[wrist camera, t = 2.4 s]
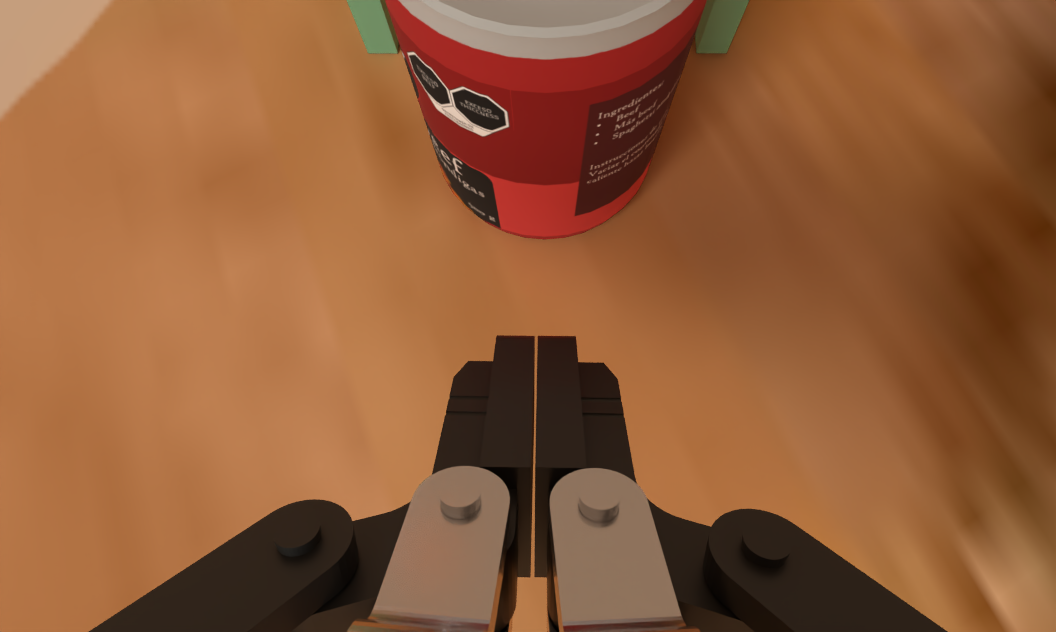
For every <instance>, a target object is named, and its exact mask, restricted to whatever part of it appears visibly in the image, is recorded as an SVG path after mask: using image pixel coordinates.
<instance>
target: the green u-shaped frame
mask: <svg viewBox="0 0 1056 632" xmlns="http://www.w3.org/2000/svg"><path fill="white" fill-rule="evenodd" d="M347 2H348V5H349V7H350V10H351V12H352V14H353V17H354V19H355V22H356V24H357V27H358V29H359V32H360V34H361V37H362V39H363V41H364V44H365V46H366V49H367V51H368V53H398V45H399V41H398V38H397V35H396V32H395V29H394V26H393V23H392V20H391V17H390V14H389V11H388V8H387V5H386V2H385V0H347ZM748 2H749V0H707V1H706V4H705V7H704V10H703V13H702V16H701V19H700V22H699V24H698V27H697V30H696V33H695V41H696V53H727V51H728V49H729V46H730V44H731V42H732V39H733V37H734V35H735V32H736V30H737V28H738V25H739V23H740V21H741V18H742V16H743V14H744V11H745V9H746V7H747V4H748Z"/></svg>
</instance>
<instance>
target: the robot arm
mask: <svg viewBox="0 0 1056 632" xmlns="http://www.w3.org/2000/svg"><path fill="white" fill-rule="evenodd" d="M534 354H535V337H534V336H497V337H496V344H495V351H494V359H493V361H468V362H467V363H466V364H465V365H464V367H463V368H462V369H461V370H460V371H459V372H458V373H457V374H456V375H455V376H454V378H453V383H452V387H451V392H450V399H449V401H448V405H447V410H446V415H445V419H444V423H443V428H442V432H441V437H440V441H439V446H438V450H437V455H436V459H435V464H434V468H433V473H432V475H431V476H429V477H428V478H427V479H425V480H424V481H423V482H422V483H421V484H420V485H419V487H418V488H417V489H416V491H415V493H414V495H413V497H412V500H411V502H409V503H408V504H406V505H404V506H402V507H400V508H398V509H396V510H393V511H391V512H387V513H384V514H380V515H376V516H372V517H368V518H364V519H360V520H356V521H352V519H351V517H350V515H349V514H348V512H347V511H346V510H345V509H344V508H342V507H341V506H339V505H338V504H335V503H333V502H330V501H325V500H315V499H314V500H304V501H298V502H295V503H291V504H288V505H286V506H283V507H281V508H279V509H277V510H275V511H274V512H272V513H270V514H269V515H267V516H266V517H264V518H263V519H261V520H260V521H258V522H256V523H255V524H253V525H252V526H250V527H249V528H247V529H246V530H244V531H243V532H241V533H240V534H238V535H236V536H235V537H233V538H232V539H230V540H229V541H227V542H226V543H224V544H223V545H221V546H220V547H218V548H217V549H215V550H213V551H212V552H210V553H209V554H207V555H206V556H204V557H203V558H201V559H200V560H198V561H197V562H195V563H193V564H192V565H190V566H189V567H187V568H186V569H184V570H183V571H181V572H180V573H178V574H177V575H175V576H174V577H172V578H170V579H169V580H167V581H166V582H164V583H163V584H161V585H160V586H158V587H157V588H155V589H154V590H152V591H150V592H149V593H147V594H146V595H144V596H143V597H141V598H140V599H138V600H137V601H135V602H134V603H132V604H131V605H129V606H127V607H126V608H124V609H123V610H121V611H120V612H118V613H117V614H115V615H114V616H112V617H111V618H109V619H108V620H106V621H104V622H103V623H101V624H100V625H98V626H97V627H95V628H94V629H92V630H91V631H89V632H512V616H513V614H514V611H515V607H516V596H517V577H530V572H531V530H532V488H533V446H534ZM535 577H547V632H947V631H946V630H944V629H943V628H942V627H940V626H939V625H937V624H936V623H934V622H933V621H932V620H930V619H929V618H927V617H926V616H924V615H923V614H922V613H920V612H919V611H917V610H916V609H914V608H913V607H912V606H910V605H909V604H907V603H906V602H905V601H903V600H902V599H900V598H899V597H897V596H896V595H895V594H893V593H892V592H890V591H889V590H887V589H886V588H885V587H883V586H882V585H880V584H879V583H877V582H876V581H875V580H873V579H872V578H870V577H869V576H867V575H866V574H865V573H863V572H862V571H860V570H859V569H857V568H856V567H855V566H853V565H852V564H850V563H849V562H848V561H846V560H845V559H843V558H842V557H840V556H839V555H838V554H836V553H835V552H833V551H832V550H830V549H829V548H828V547H826V546H825V545H823V544H822V543H820V542H819V541H818V540H816V539H815V538H813V537H812V536H810V535H809V534H808V533H806V532H805V531H803V530H802V529H801V528H799V527H798V526H796V525H795V524H793V523H792V522H790V521H788V520H787V519H785V518H783V517H780V516H778V515H776V514H773V513H770V512H767V511H762V510H756V509H739V510H734V511H731V512H728V513H725V514H724V515H722V516H720V517H719V518H718V519H717V520H716V521H715V522H714V524H713V525H712V527H710V526H706V525H703V524H699V523H696V522H692V521H688V520H685V519H682V518H679V517H676V516H673V515H671V514H669V513H667V512H665V511H663V510H661V509H660V508H658V507H657V506H655V505H654V504H653V503H652V502H650V501H649V500H648V499H647V498H646V495H645V494H644V492H643V491H642V489H641V488H640V487H639V486H638V485H637V483H636V479H635V475H634V469H633V464H632V458H631V452H630V447H629V441H628V435H627V430H626V424H625V418H624V413H623V407H622V402H621V396H620V390H619V384H618V379H617V378H616V377H615V376H614V374H613V373H612V372H611V371H610V370H609V369H608V367H607V366H606V365H605V364H604V363H585V362H578V357H577V345H576V337H575V336H538V357H537V410H536V464H535Z"/></svg>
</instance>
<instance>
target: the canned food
mask: <svg viewBox="0 0 1056 632" xmlns="http://www.w3.org/2000/svg"><path fill="white" fill-rule="evenodd" d="M706 1H707V0H385V2H386V5H387V8H388V11H389V14H390V17H391V20H392V23H393V26H394V29H395V32H396V35H397V38H398V41H399V44H400V47H401V50H402V53H403V56H404V59H405V62H406V65H407V68H408V71H409V74H410V77H411V80H412V83H413V86H414V89H415V92H416V95H417V98H418V101H419V104H420V107H421V110H422V113H423V116H424V119H425V122H426V125H427V128H428V131H429V134H430V137H431V140H432V143H433V146H434V149H435V152H436V155H437V158H438V161H439V164H440V167H441V171H442V174H443V176H444V178H445V180H446V182H447V183H448V185H449V187H450V189H451V190H452V192H453V193H454V194H455V196H456V197H457V198H458V199H459V200H460V201H461V202H462V203H463V205H464V206H465V207H466V208H468V209H469V210H470V211H472V212H473V213H474V214H476V215H477V216H478V217H480V218H481V219H482V220H484V221H485V222H486V223H488V224H490V225H492V226H494V227H496V228H498V229H500V230H502V231H504V232H507V233H510V234H514V235H518V236H521V237H525V238H536V239H555V238H565V237H569V236H573V235H576V234H580V233H584V232H586V231H588V230H590V229H592V228H594V227H596V226H598V225H600V224H602V223H603V222H605V221H606V220H608V219H609V218H610V217H612V216H613V215H614V214H616V213H617V212H619V211H620V210H621V209H623V208H624V206H625V205H626V204H627V203H628V202H629V201H630V200H631V199H632V198H633V196H634V195H635V194H636V193H637V191H638V189H639V187H640V186H641V184H642V182H643V180H644V179H645V177H646V174H647V171H648V168H649V165H650V162H651V160H652V157H653V154H654V151H655V148H656V145H657V142H658V139H659V137H660V134H661V131H662V128H663V125H664V122H665V119H666V116H667V114H668V111H669V108H670V105H671V102H672V99H673V96H674V93H675V91H676V88H677V85H678V82H679V79H680V76H681V73H682V70H683V68H684V65H685V62H686V59H687V56H688V53H689V50H690V47H691V45H692V42H693V39H694V36H695V33H696V30H697V27H698V24H699V22H700V19H701V16H702V13H703V10H704V7H705V4H706Z"/></svg>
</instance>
